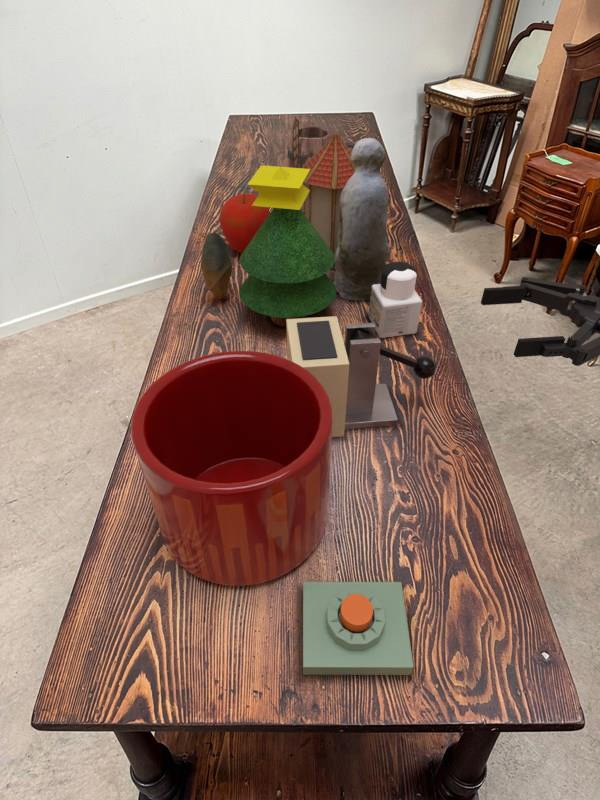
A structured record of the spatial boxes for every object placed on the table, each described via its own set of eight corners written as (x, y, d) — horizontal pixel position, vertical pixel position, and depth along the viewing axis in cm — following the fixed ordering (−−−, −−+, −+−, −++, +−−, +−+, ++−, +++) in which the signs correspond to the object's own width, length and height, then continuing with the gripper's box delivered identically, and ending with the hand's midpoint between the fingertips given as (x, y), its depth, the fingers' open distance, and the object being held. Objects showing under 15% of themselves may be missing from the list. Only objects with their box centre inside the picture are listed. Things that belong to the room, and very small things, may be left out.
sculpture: (382, 271, 124) (398, 132, 104) (387, 305, 114) (405, 158, 93) (333, 270, 125) (339, 131, 104) (332, 304, 114) (339, 157, 94)
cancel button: (370, 601, 62) (371, 593, 61) (373, 632, 60) (374, 625, 58) (339, 601, 62) (339, 593, 61) (340, 632, 60) (341, 625, 58)
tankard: (276, 221, 143) (273, 142, 130) (283, 196, 156) (281, 121, 142) (364, 225, 142) (371, 145, 128) (364, 198, 154) (370, 123, 140)
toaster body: (333, 387, 95) (336, 314, 84) (344, 436, 86) (349, 362, 76) (288, 390, 94) (286, 317, 84) (294, 440, 86) (293, 366, 75)
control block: (399, 590, 67) (403, 574, 64) (410, 675, 60) (416, 660, 57) (303, 590, 67) (303, 574, 64) (302, 674, 60) (302, 660, 57)
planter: (160, 465, 82) (131, 362, 68) (307, 441, 85) (308, 339, 72) (164, 608, 65) (127, 510, 52) (346, 571, 69) (357, 470, 55)
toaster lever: (423, 371, 89) (437, 355, 87) (429, 386, 86) (443, 370, 84) (346, 341, 83) (358, 323, 81) (350, 355, 80) (363, 337, 78)
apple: (236, 236, 138) (231, 180, 128) (280, 243, 134) (278, 187, 125) (214, 258, 129) (207, 200, 119) (259, 267, 126) (256, 208, 116)
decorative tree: (325, 350, 103) (331, 194, 82) (229, 337, 106) (212, 184, 85) (342, 296, 116) (350, 151, 96) (256, 287, 119) (246, 144, 99)
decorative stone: (230, 312, 112) (222, 245, 102) (201, 310, 113) (191, 244, 103) (239, 287, 119) (233, 223, 109) (212, 286, 120) (204, 221, 110)
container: (368, 317, 111) (373, 259, 102) (403, 312, 112) (412, 255, 103) (379, 339, 105) (386, 280, 96) (417, 334, 106) (427, 275, 97)
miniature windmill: (286, 228, 141) (283, 101, 120) (361, 229, 140) (371, 101, 120) (280, 275, 123) (275, 135, 103) (366, 276, 122) (378, 136, 102)
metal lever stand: (385, 389, 94) (395, 313, 84) (397, 425, 88) (410, 348, 77) (317, 394, 94) (319, 318, 83) (324, 431, 87) (327, 354, 76)
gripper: (670, 384, 76) (525, 394, 74) (584, 291, 94) (466, 298, 93) (697, 341, 71) (542, 351, 69) (600, 251, 89) (476, 258, 88)
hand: (498, 320), depth 81 cm, fingers open, 13 cm apart
